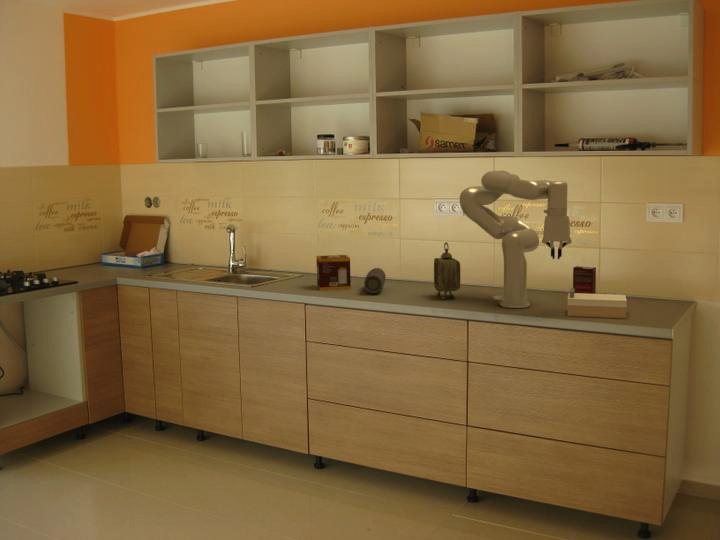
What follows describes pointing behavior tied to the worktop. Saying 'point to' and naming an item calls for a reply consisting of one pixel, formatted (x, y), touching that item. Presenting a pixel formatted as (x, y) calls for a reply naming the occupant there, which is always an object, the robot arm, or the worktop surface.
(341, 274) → the supplement box
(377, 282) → the bluetooth speaker
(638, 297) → the worktop surface
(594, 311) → the mailer base
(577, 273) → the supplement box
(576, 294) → the mailer lid
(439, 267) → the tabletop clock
